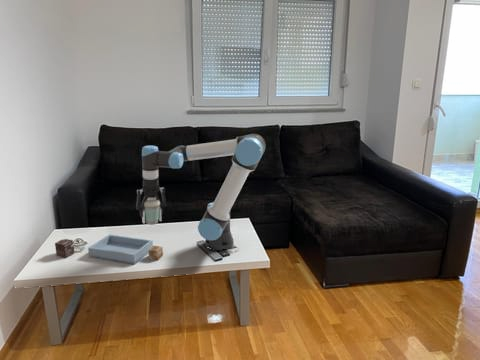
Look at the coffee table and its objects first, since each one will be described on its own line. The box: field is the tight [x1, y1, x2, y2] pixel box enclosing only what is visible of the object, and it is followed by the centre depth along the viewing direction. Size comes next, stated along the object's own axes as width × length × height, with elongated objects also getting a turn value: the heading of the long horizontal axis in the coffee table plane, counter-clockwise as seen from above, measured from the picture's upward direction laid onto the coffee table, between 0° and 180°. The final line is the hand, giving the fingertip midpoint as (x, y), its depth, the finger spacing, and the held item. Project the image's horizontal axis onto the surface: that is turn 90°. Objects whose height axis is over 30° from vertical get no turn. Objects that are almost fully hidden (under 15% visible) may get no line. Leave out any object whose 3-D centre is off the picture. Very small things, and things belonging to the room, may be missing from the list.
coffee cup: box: [144, 197, 161, 226], centre depth 189 cm, size 8×8×12 cm
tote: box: [87, 234, 154, 265], centre depth 192 cm, size 26×17×5 cm, turn 73°
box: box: [54, 238, 75, 259], centre depth 190 cm, size 6×6×7 cm
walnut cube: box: [148, 245, 164, 261], centre depth 187 cm, size 5×5×5 cm
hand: (151, 221), depth 190 cm, fingers closed on coffee cup, 8 cm apart
